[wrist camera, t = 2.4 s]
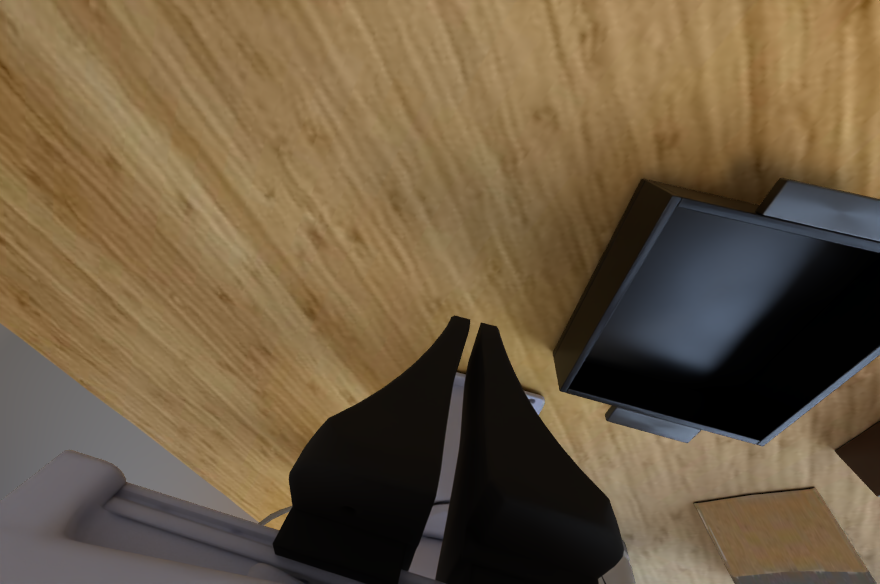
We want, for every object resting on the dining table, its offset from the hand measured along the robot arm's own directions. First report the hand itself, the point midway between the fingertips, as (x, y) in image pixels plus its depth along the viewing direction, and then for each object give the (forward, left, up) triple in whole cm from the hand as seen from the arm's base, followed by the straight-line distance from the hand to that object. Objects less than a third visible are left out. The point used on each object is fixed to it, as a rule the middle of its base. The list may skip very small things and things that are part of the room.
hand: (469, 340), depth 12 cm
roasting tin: (+13, 0, -8) cm, 15 cm away
